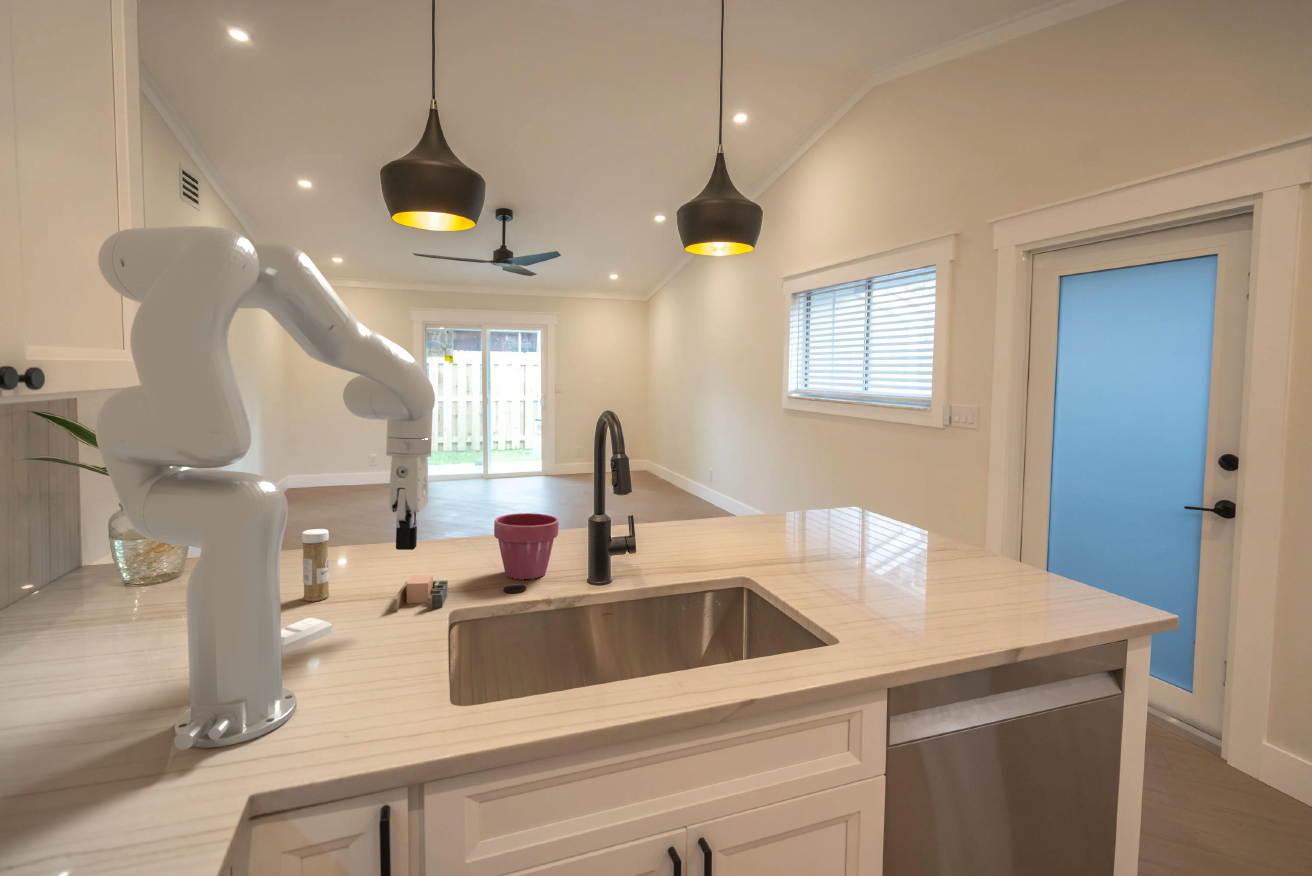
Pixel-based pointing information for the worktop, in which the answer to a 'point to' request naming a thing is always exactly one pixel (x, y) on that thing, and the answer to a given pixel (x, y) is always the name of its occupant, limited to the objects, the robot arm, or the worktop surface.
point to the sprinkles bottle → (315, 564)
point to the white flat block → (303, 633)
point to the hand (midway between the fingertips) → (406, 548)
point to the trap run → (433, 599)
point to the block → (419, 588)
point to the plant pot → (525, 543)
